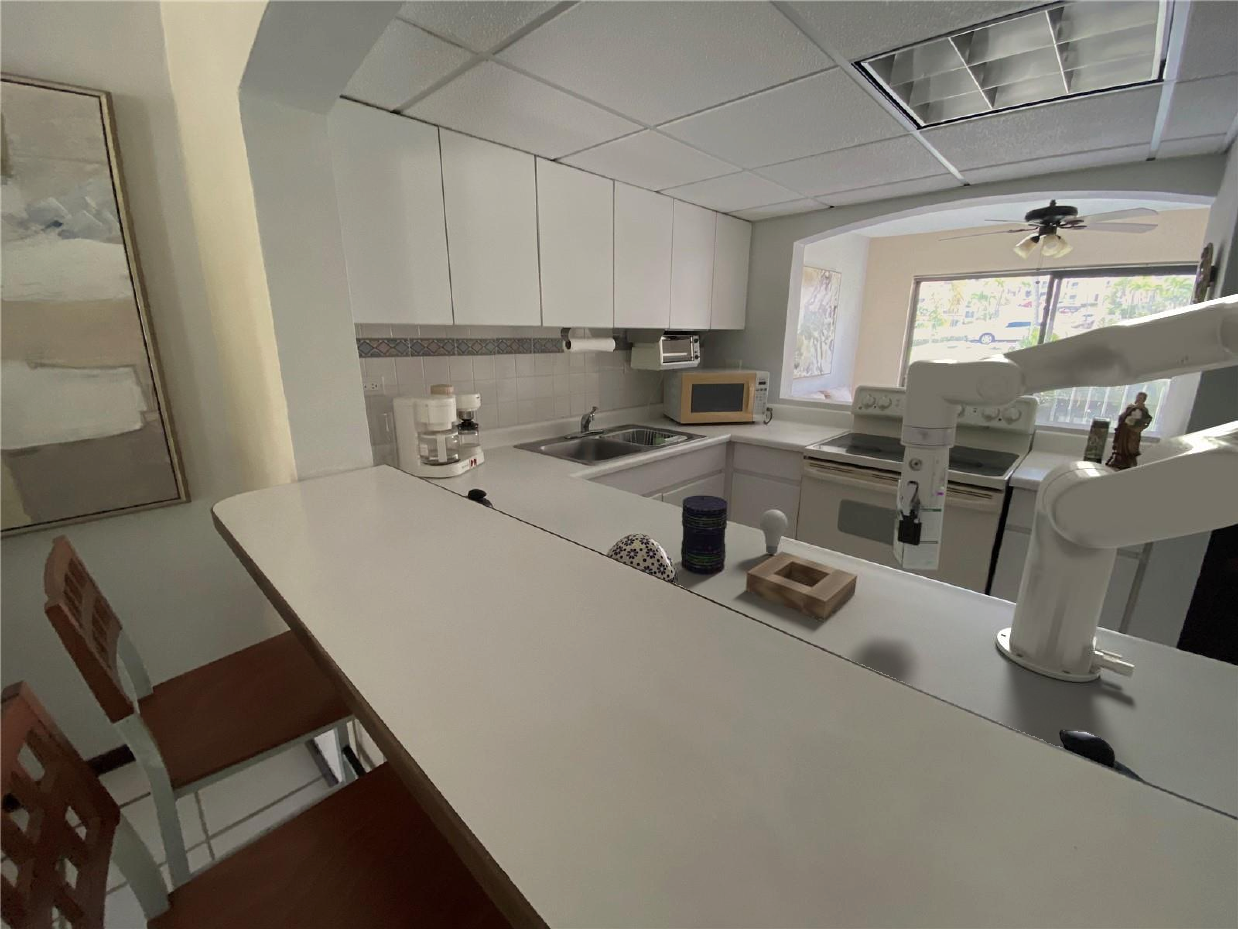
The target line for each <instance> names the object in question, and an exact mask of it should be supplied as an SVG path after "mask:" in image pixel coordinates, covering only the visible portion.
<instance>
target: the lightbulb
mask: <svg viewBox="0 0 1238 929" xmlns="http://www.w3.org/2000/svg"><path fill="white" fill-rule="evenodd" d="M788 522H789V521H788V518H787V517H786V515H785V514H784V513H783V512H782V511H781V510H778V509H769V510H766V511H765V512H763V513H762V515H761V517H760V519H759V524H760V525H759V526H760V528H761V530H762V533H763V534H764V535H763V536H764V539H765V540H764V542H765V545H766V546H765V552H766V553H767V554H768V555H771V556H774V555H776V554H778V549H779V545H780V543H781V542H780V541H781V538H782V536H783V534H784V533H785V532H786V530H787V528H788V525H789V524H788Z"/></svg>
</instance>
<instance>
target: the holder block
mask: <svg viewBox="0 0 1238 929" xmlns="http://www.w3.org/2000/svg"><path fill="white" fill-rule="evenodd" d="M857 578H858V575H857V574H854V573H851V572H848V571H845V570H841V569H839V568H835V567H832V566H829V565H825V564H823V563H819V562H817V561H814V560H811V559H807V558H804V557H801V556H798V555H794V554H792V553H788V552H785V551H780V552H777V553H776V554H774V555H772V556H771V557H770V558H768V559H767V560H765V561H763V562H762V563H759V564H758V565H757V566H755V567H753V568H752V569H750V570H748V571H747V572H746V582H745V583H746V584H745V585H746V586H745V590H746V591H747V592H749V593H752V594H755V595H757V596H760V597H762V598H764V599H767V600H769V601H771V602H775V603H777V604H779V605H782V606H784V607H787V608H789V609H791V610H795V611H797V612H800V613H802V614H804V613H805V615H807V614H808V615H807V616H809V615H810V617H812V616H814V617H815V619H817V618H818V619H817V620H819V619H821V620H820V621H822V620H825V619H826V620H827V619H829V617H831V616H832V615H833V614H834V613H835V612H836V611H837V610H838V609H840V608H841V607H842V606H843V605H844V604H845V603H846V602H848V601H849V600H850V599H851V598H852V597H853V596H854V595H855V594H856V588H857V587H856V585H857ZM802 582H803V583H802ZM805 583H806V584H805ZM810 585H812V586H810ZM854 593H855V594H854ZM853 594H854V595H853ZM852 595H853V596H852ZM851 596H852V597H851ZM850 597H851V598H850ZM844 602H845V603H844ZM843 603H844V604H843ZM841 605H842V606H841ZM832 613H833V614H832ZM831 614H832V615H831ZM814 617H813V618H814ZM826 620H825V621H826Z"/></svg>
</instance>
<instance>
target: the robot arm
mask: <svg viewBox="0 0 1238 929" xmlns="http://www.w3.org/2000/svg"><path fill="white" fill-rule="evenodd" d="M1233 366H1238V293H1237V294H1232V295H1229V296H1225V297H1220V298H1217V299H1213V300H1207V301H1204V302H1199V303H1196V304H1191V305H1188V306H1184V307H1179V308H1175V309H1172V310H1171V309H1170V310H1168V311H1167V310H1166V311H1162V312H1158V313H1155V314H1154V313H1153V314H1151V315H1146V316H1143V317H1138V318H1134V319H1129V320H1125V321H1121V322H1117V323H1113V324H1110V325H1105V326H1101V327H1098V328H1094V329H1091V330H1088V331H1085V332H1082V333H1079V334H1075V335H1072V336H1069V337H1064V338H1060V339H1056V340H1052V341H1048V342H1044V343H1040V344H1035V345H1031V346H1027V347H1022V348H1019V349H1015V350H1010V351H1006V352H1002V353H997V354H994V355H990V356H989V355H988V356H985V357H983V358H981V359H978V360H970V361H969V360H968V361H958V360H955V359H943V358H941V359H937V358H936V359H921V360H920V359H919V360H916V361H912V363H911V364H909V366H908V368H907V375H906V383H905V384H906V385H905V393H904V394H905V396H904V405H903V414H902V415H903V416H902V426H901V435H900V445H903V446H905V449H904V456H903V460H902V466H901V474H900V479H899V480H900V489H899V501H900V502H901V508H902V509H901V510H900V511H901V513H900V520H899V529H898V541H899V542H902V543H906V544H911V545H915V546H918V545H919V544H920V536H921V528H922V522H920V519H921V515H922V511H923V508H924V506H926V507H927V509H931V508H933V507H934V506H936V505H937V500H938V492H939V489H938V488H940V487H941V486H942V487H943V488H945V489H946V494H945V497H946V496H947V493H948V492H947V491H948V490H947V489H948V480H949V477H948V476H949V464H950V449H952V448H954V447H955V440H956V430H957V422H958V416H959V415H958V414H959V408H960V407H959V406H961V407H967V408H968V407H970V408H974V409H975V408H976V409H981V410H983V409H984V410H999V409H1003V408H1006V407H1009V406H1011V405H1012V404H1014V403H1015V402H1016V401H1018V400H1019V399H1020V398H1021V397H1023V396H1024V397H1025V396H1029V395H1034V394H1040V393H1045V392H1051V391H1057V390H1062V389H1063V390H1065V389H1071V388H1085V387H1086V388H1087V387H1092V388H1093V387H1094V388H1095V387H1096V388H1112V387H1114V388H1115V387H1121V386H1122V387H1123V386H1132V385H1138V384H1143V383H1148V382H1154V381H1159V380H1163V379H1164V380H1165V379H1167V378H1174V377H1179V376H1184V375H1190V374H1195V373H1200V372H1207V371H1213V370H1217V369H1222V368H1229V367H1233ZM917 491H918V492H917ZM916 494H917V498H916V499H917V500H919V501H920V504H918V503H913V501H914V498H915V496H916ZM1035 498H1036V499H1035V505H1034V514H1033V522H1032V527H1031V534H1030V538H1029V539H1030V540H1029V545H1028V549H1027V554H1026V557H1025V562H1024V566H1023V571H1022V575H1021V580H1020V581H1021V582H1020V585H1019V591H1018V595H1017V599H1016V604H1015V608H1014V611H1013V612H1014V613H1013V618H1012V621H1011V627H1007V628H1004V629H1001V630H999V632H997V636H996V637H995V638H996V640H995V643H996V647H998V649H999V650H1000V651H1001V652H1002V654H1004V655H1005V656H1006V657H1007V658H1009V659H1010V660H1012V661H1013V662H1014V663H1017V664H1018V665H1020V666H1021V667H1024V668H1026V669H1028V670H1029V671H1033V672H1035V673H1036V674H1037V673H1038V674H1039V675H1043V676H1046V677H1049V678H1054V679H1057V680H1061V681H1067V682H1074V683H1075V682H1079V683H1082V682H1083V683H1084V682H1091V681H1094V680H1096V679H1098V678H1099V677H1100V675H1101V671H1102V669H1104V670H1107V671H1110V672H1113V673H1114V674H1117V675H1122V676H1123V677H1126V678H1129V679H1131V678H1132V676H1133V672H1134V666H1135V665H1134V664H1132V663H1129V662H1126V661H1122V658H1123V655H1122V654H1119V653H1116V652H1112V651H1108V650H1104V649H1101V646H1098V645H1096V643H1097V637H1096V633H1097V629H1098V625H1099V621H1100V617H1101V613H1102V609H1103V606H1104V601H1105V598H1106V594H1107V590H1108V586H1109V582H1110V580H1111V579H1110V578H1111V576H1112V572H1113V568H1114V565H1115V561H1116V556H1117V551H1118V548H1123V547H1130V546H1136V545H1142V544H1147V543H1151V542H1158V541H1162V540H1168V539H1172V538H1179V537H1183V536H1188V535H1193V534H1197V533H1198V534H1199V533H1203V532H1208V531H1213V530H1218V529H1223V528H1227V527H1230V526H1234V525H1238V420H1234V421H1231V422H1228V423H1224V424H1221V425H1216V426H1213V427H1210V428H1205V429H1202V430H1199V431H1194V432H1191V433H1187V434H1182V435H1178V436H1174V437H1171V438H1168V439H1165V440H1162V441H1159V442H1157V443H1155V444H1152V445H1151V446H1149V447H1148V448H1147V449H1146V450H1145V451H1144V452H1142V454H1141V455H1140V456H1139V458H1138V460H1137V464H1136V466H1134V467H1133V466H1132V467H1129V468H1126V469H1122V470H1118V471H1115V470H1114V469H1112V468H1110V467H1108V466H1107V465H1104V464H1102V463H1098V462H1095V461H1087V460H1075V461H1070V462H1069V461H1068V462H1066V463H1063V464H1060V465H1058V466H1055V467H1054V468H1053V469H1052V470H1050V471H1049V472H1048V473H1046V474H1045V476H1044V477H1043V478H1042V480H1041V482H1040V483H1039V486H1038V489H1037V493H1036V497H1035ZM912 507H913V508H917V512H916V514H915V510H914V509H912Z"/></svg>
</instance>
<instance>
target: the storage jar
mask: <svg viewBox="0 0 1238 929" xmlns="http://www.w3.org/2000/svg"><path fill="white" fill-rule="evenodd" d="M728 503H729V502H727V500H726V499H724V498H721V497H718V496H712V495H690V496H688V497H685V498H684V499H682V512H681V526H682V540H681V548H680V554H681V556H680V558H681V561H680V563H681V564H680V565H681V568H682V569H683V570H685V572H688V573H691V574H693V575H698V576H713V575H718V574H721V573H722V572H723V571H724V569H725V559H726V555H727V554H726V552H727V550H726V546H727V545H726V542H725V541H726V529H727V526H728V523H727V521H728Z"/></svg>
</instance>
